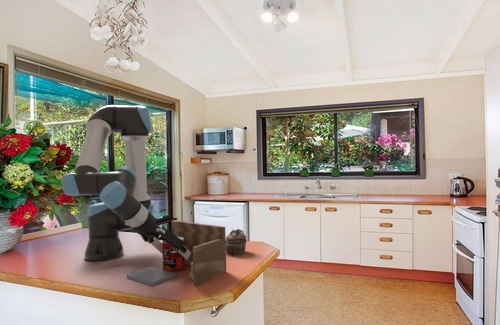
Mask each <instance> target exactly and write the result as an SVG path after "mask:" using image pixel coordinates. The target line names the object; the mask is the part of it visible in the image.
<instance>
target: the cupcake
mask: <svg viewBox="0 0 500 325" xmlns="http://www.w3.org/2000/svg"><path fill="white" fill-rule="evenodd" d="M225 237H226V255H228V256H239V255H240V256H241V255H243V254H245V251H246V245H247V235H246V234H245V231H244V230H241V229H240V228H237V229H236V230H235V229H232V230H231V231H230V232H229V233H228V234H227V235H226V236H225Z"/></svg>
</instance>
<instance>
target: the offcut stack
mask: <svg viewBox="0 0 500 325" xmlns="http://www.w3.org/2000/svg"><path fill="white" fill-rule="evenodd" d="M189 279H190V280H193V262H192V263H191V265H190V272H189Z"/></svg>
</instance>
